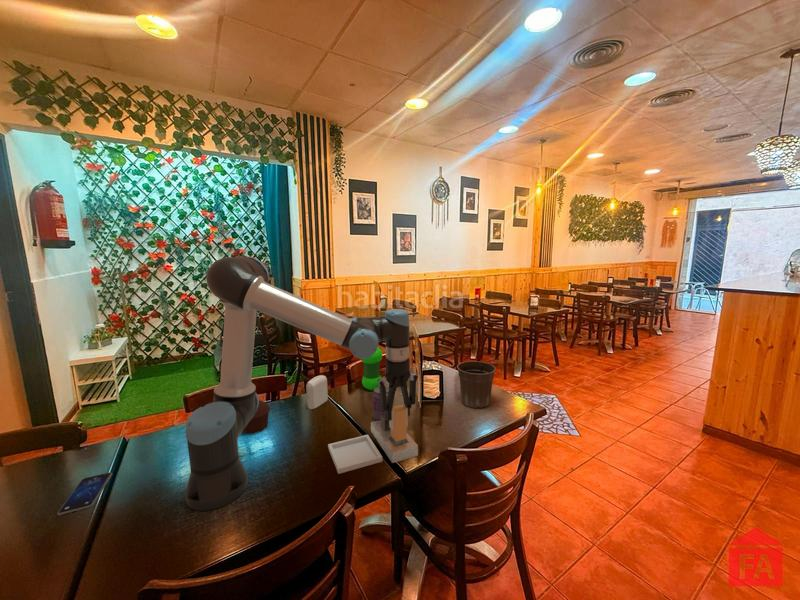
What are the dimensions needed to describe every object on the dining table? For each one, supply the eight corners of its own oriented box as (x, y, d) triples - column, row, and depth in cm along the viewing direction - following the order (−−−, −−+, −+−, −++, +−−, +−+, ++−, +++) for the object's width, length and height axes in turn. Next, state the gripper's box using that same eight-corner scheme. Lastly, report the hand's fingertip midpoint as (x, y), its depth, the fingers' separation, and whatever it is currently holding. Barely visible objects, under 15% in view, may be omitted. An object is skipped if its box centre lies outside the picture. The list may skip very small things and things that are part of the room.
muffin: (231, 432, 122) (229, 406, 120) (253, 417, 132) (251, 394, 131) (257, 437, 118) (255, 411, 116) (278, 422, 128) (276, 398, 127)
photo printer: (313, 410, 138) (312, 382, 136) (305, 408, 140) (304, 380, 138) (329, 400, 147) (328, 373, 145) (321, 398, 149) (320, 372, 147)
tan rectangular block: (395, 441, 106) (395, 412, 105) (390, 435, 110) (390, 407, 108) (406, 438, 108) (406, 409, 106) (401, 432, 111) (401, 404, 110)
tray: (338, 475, 98) (338, 469, 98) (328, 449, 110) (328, 444, 110) (382, 462, 103) (382, 456, 103) (368, 439, 116) (367, 434, 116)
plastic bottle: (374, 382, 167) (373, 334, 163) (386, 388, 159) (386, 338, 155) (357, 387, 160) (356, 337, 157) (369, 394, 152) (368, 342, 149)
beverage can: (392, 414, 134) (391, 386, 132) (389, 423, 127) (389, 393, 125) (374, 413, 135) (374, 385, 133) (371, 422, 128) (371, 393, 126)
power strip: (392, 464, 103) (392, 433, 101) (370, 432, 121) (370, 405, 119) (417, 456, 106) (418, 426, 105) (393, 427, 124) (393, 401, 123)
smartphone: (54, 515, 83) (81, 478, 96) (55, 518, 83) (82, 481, 97) (92, 505, 86) (113, 470, 99) (92, 508, 86) (114, 473, 100)
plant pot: (449, 403, 143) (450, 368, 141) (466, 391, 156) (467, 358, 153) (485, 415, 133) (486, 376, 131) (499, 400, 146) (501, 365, 144)
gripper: (376, 366, 98) (378, 439, 101) (427, 357, 105) (426, 426, 108) (368, 358, 105) (370, 427, 108) (416, 351, 112) (416, 416, 115)
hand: (398, 426), depth 108 cm, fingers closed on tan rectangular block, 4 cm apart
